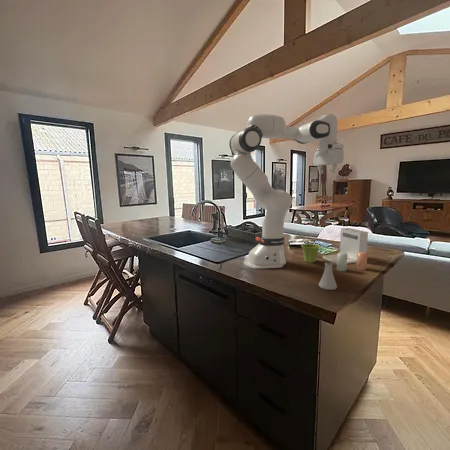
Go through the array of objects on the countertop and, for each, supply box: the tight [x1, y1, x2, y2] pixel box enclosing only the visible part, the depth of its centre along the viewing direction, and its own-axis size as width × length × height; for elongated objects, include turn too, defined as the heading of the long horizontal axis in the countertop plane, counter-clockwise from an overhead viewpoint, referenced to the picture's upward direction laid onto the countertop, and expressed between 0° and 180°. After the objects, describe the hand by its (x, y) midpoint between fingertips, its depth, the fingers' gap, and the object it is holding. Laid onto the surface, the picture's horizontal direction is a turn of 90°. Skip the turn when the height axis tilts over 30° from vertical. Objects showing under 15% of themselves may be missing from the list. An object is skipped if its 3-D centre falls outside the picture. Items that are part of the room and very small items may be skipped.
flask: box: [318, 261, 338, 291], centre depth 104 cm, size 7×7×10 cm
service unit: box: [322, 227, 369, 265], centre depth 140 cm, size 18×14×16 cm
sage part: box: [336, 252, 348, 272], centre depth 124 cm, size 4×4×8 cm
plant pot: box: [301, 243, 320, 264], centre depth 139 cm, size 9×9×9 cm
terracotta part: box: [355, 252, 368, 271], centre depth 125 cm, size 4×4×8 cm
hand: (326, 173), depth 140 cm, fingers open, 8 cm apart
